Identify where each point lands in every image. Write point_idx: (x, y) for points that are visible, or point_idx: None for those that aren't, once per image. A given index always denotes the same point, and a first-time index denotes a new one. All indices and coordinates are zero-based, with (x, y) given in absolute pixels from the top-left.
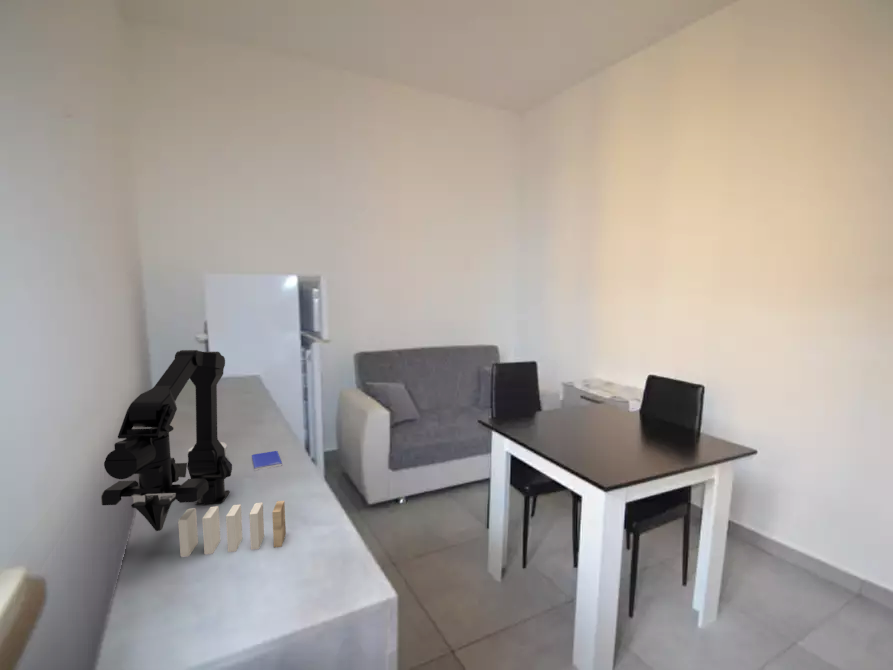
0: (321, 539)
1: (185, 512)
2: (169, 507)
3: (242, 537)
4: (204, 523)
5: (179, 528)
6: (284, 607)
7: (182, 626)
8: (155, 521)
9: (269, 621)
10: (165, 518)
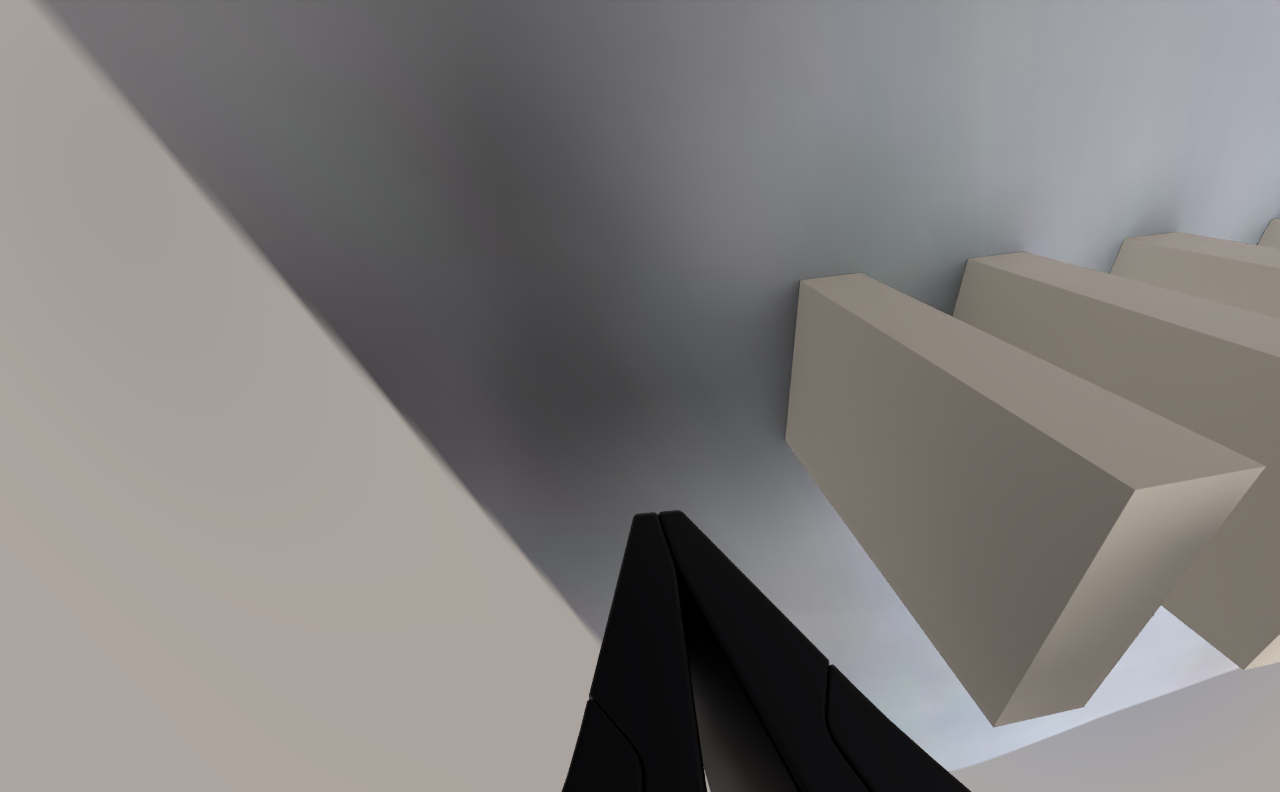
0: None
1: (1082, 586)
2: (928, 767)
3: (1186, 235)
4: (1183, 605)
5: (926, 624)
6: (1168, 653)
7: (900, 726)
8: (702, 742)
9: (1115, 689)
10: (759, 602)
